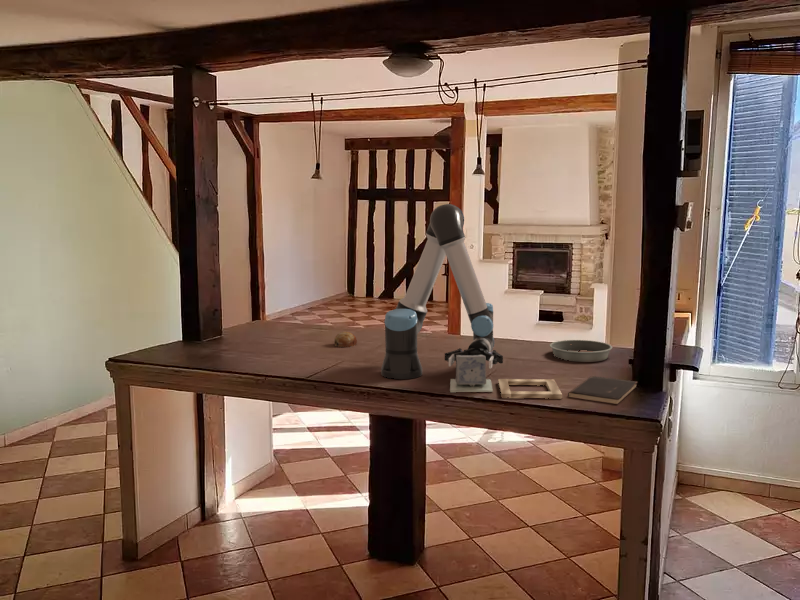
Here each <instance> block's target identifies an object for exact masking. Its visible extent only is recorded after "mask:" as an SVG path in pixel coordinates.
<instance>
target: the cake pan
mask: <svg viewBox="0 0 800 600" xmlns="http://www.w3.org/2000/svg"><path fill="white" fill-rule="evenodd" d="M570 344H572V345H570ZM549 348H551V349H552V354H554V355H555V356H556V357H558V358H557V359H559V358H561V359H560V360H562V359H564V360H563V361H567V360H569V362H579V363H592V362H602V361H605V360H607V359H608V358H609V355H610V352H611V350H612V349H613V346H612V345H611V344H609V343H607V342H604V341H603V342H602V341H598V340H597V341H596V340H588V339H587V340H586V339H564V340H556V341H554V342H551V343H550V344H549ZM567 350H568V351H567ZM579 350H587V351H593V352H578V351H579ZM554 355H553V356H554ZM555 356H554V357H555ZM556 357H555V358H556Z"/></svg>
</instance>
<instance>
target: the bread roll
mask: <svg viewBox="0 0 800 600" xmlns="http://www.w3.org/2000/svg"><path fill="white" fill-rule="evenodd" d="M333 342H334V346H335V347H337V346H338V347H339V348H351V347H350V346H352V347H355V346H356V345H357V343H358V340H357V337H356V336H355V335H354V333H352V332H350V331H341V332H339V333H337V335H336V336H335V337H334V341H333ZM354 345H355V346H354ZM338 347H337V348H338Z"/></svg>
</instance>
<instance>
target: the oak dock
mask: <svg viewBox="0 0 800 600" xmlns="http://www.w3.org/2000/svg"><path fill="white" fill-rule="evenodd" d="M497 380H498V381H497V382H498V383H499V384H498V383H497V384H498V389H499V388H500V389H499V393H500V392H501V393H500V397H503V398H502V399H524V398H545V400H551V399H552V400H562V399H563V393H562V391H561V390H560V387H559V386H558V384H557V382H556V381H555V380H556V379H552V378H551V379H548V378H546V379H543V378H542V379H540V378H539V379H538V378H537V379H536V378H535V379H533V378H531V379H529V378H528V379H527V378H498V379H497ZM509 385H537V386H536V387H541V386H540V385H543V386H542V387H545V386H546V389H547V390H548V391H543V390H542V391H537V390H536V391H531V390H529V391H525V390H523V391H522V390H521V391H519V390H516V391H514V390H511V389H510V388H511V387H510V386H509ZM544 385H545V386H544ZM507 397H509V398H507ZM548 398H549V399H548Z"/></svg>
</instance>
